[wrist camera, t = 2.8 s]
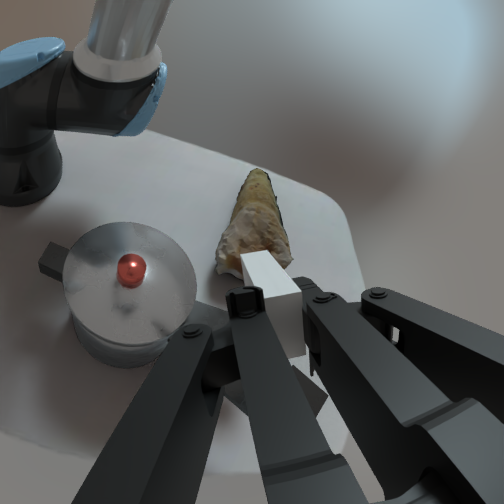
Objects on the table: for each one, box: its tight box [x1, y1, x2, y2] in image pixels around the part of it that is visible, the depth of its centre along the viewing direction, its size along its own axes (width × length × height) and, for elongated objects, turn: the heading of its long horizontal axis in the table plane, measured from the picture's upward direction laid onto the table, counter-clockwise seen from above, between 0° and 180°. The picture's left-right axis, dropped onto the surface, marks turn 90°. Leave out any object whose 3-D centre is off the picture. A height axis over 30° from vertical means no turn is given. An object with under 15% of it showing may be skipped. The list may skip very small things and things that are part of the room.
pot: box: [38, 242, 229, 368], centre depth 33 cm, size 26×13×9 cm, turn 84°
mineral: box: [215, 168, 294, 280], centre depth 53 cm, size 26×9×10 cm
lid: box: [63, 222, 329, 418], centre depth 26 cm, size 27×14×8 cm, turn 54°
